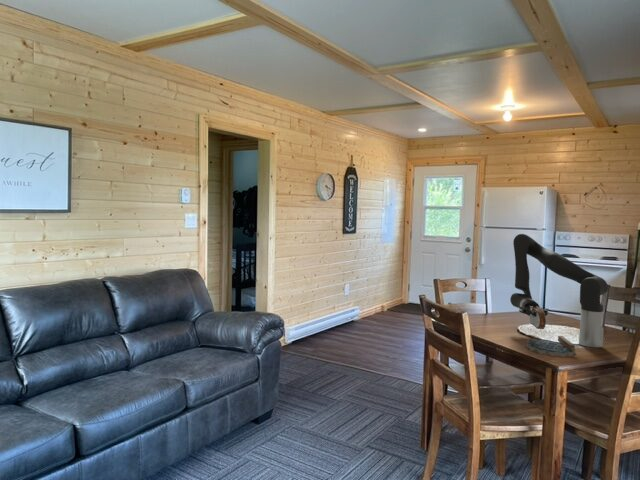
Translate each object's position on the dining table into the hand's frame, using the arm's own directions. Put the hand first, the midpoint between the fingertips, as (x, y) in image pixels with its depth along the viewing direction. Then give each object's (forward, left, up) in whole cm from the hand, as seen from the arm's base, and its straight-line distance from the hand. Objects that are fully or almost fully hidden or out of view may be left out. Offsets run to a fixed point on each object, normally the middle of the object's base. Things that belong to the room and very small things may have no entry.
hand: (539, 314), depth 215 cm
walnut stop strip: (-13, -3, -14) cm, 20 cm away
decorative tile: (-6, -1, -17) cm, 18 cm away
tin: (0, -3, -7) cm, 7 cm away
